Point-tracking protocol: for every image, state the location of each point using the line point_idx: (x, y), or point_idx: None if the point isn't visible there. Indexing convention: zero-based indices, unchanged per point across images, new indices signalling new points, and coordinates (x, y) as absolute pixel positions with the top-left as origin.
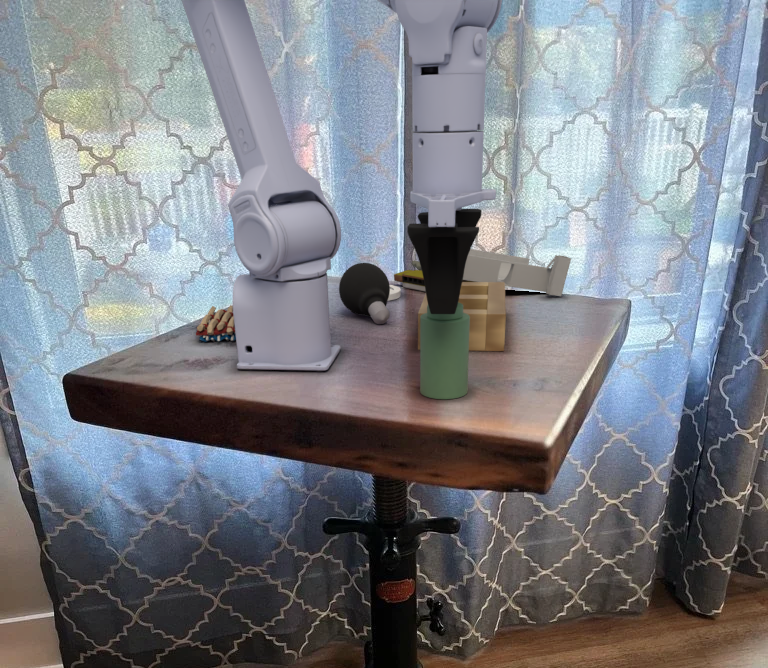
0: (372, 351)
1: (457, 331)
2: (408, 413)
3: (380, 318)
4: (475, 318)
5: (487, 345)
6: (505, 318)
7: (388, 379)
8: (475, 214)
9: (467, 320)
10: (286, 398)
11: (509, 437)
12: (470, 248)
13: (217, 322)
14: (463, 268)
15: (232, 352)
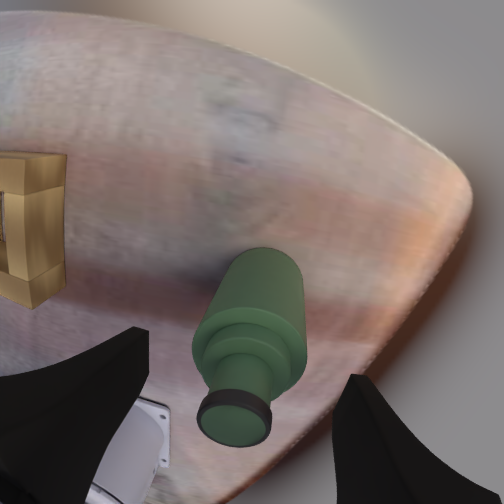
0: (79, 343)
1: (303, 330)
2: (348, 341)
3: None
4: (29, 214)
5: (59, 183)
6: (30, 159)
7: None
8: (7, 452)
9: (283, 316)
10: (263, 444)
11: (461, 226)
12: (470, 481)
13: None
14: (425, 448)
15: None
